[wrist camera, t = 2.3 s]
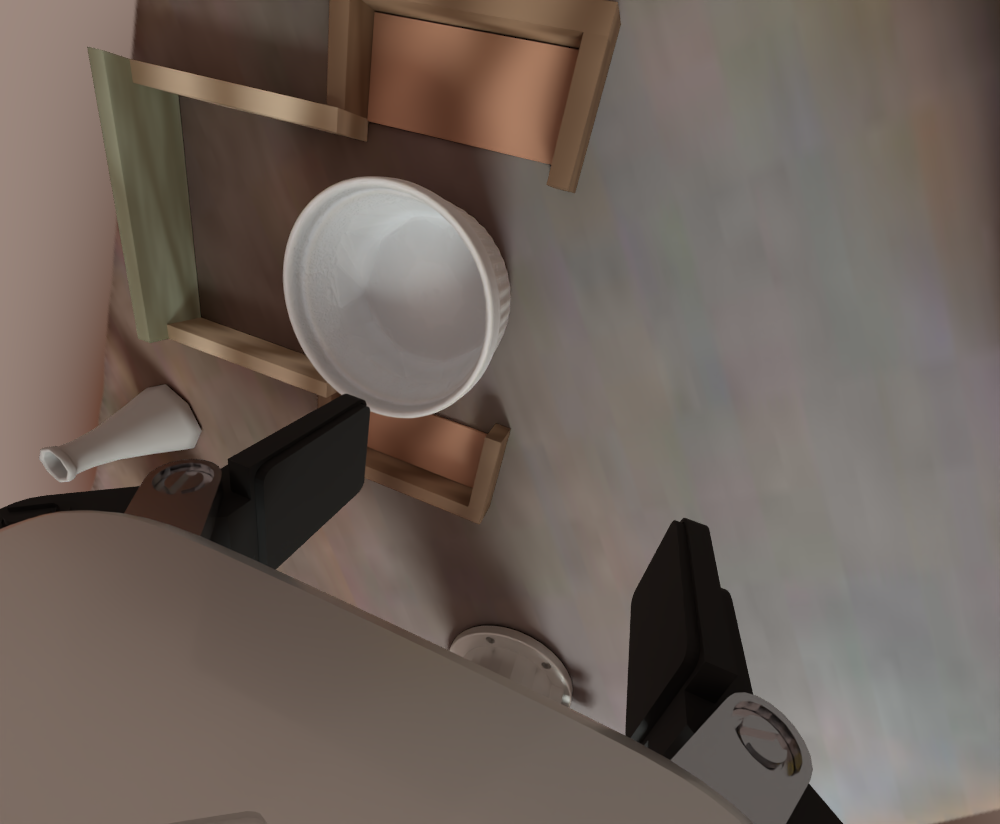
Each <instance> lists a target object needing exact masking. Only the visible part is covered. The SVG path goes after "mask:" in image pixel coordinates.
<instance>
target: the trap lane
mask: <svg viewBox="0 0 1000 824" xmlns="http://www.w3.org/2000/svg"><path fill="white" fill-rule="evenodd" d="M376 11H378V12H383V13H388V14H394V15H399V16H405V17H410V18H416V19H421V20H427V21H432V22H437V23H443V24H448V25H454V26H459V27H465V28H470V29H475V30H481V31H486V32H492V33H497V34H503V35H508V36H513V37H519V38H524V39H530V40H535V41H541V42H546V43H551V44H557V45H562V46H568V47H573V48H579V50H577V49H572V48H566V47H561V46H556V45H550V44H545V43H539V42H534V41H529V40H523V39H518V38H512V37H507V36H501V35H496V34H491V33H485V32H480V31H474V30H469V29H464V28H458V27H453V26H447V25H442V24H437V23H431V22H426V21H420V20H415V19H409V18H404V17H399V16H393V15H388V14H382V13H377V12H376ZM620 26H621V23H620V15H619V7H618V2H612V1H606V0H330V2H329V36H328V70H327V104H326V105H324V104H320V103H315V102H311V101H307V100H303V99H298V98H294V97H290V96H285V95H281V94H277V93H273V92H268V91H264V90H260V89H256V88H251V87H247V86H243V85H238V84H234V83H230V82H226V81H221V80H217V79H213V78H209V77H204V76H200V75H196V74H191V73H187V72H183V71H179V70H174V69H170V68H166V67H162V66H157V65H153V64H149V63H145V62H140V61H136V60H132V59H128V58H125V57H122V56H118V55H116V54H112V53H109V52H106V51H103V50H99V49H95V48H90V47H87V48H88V54H89V60H90V65H91V71H92V77H93V83H94V88H95V94H96V100H97V106H98V111H99V117H100V122H101V128H102V133H103V140H104V145H105V151H106V157H107V163H108V168H109V174H110V180H111V185H112V191H113V197H114V203H115V209H116V214H117V220H118V226H119V231H120V237H121V243H122V249H123V254H124V260H125V266H126V271H127V277H128V283H129V289H130V294H131V300H132V306H133V311H134V317H135V323H136V329H137V334H138V339H141V340H144V341H146V342H149V343H152V342H157V341H161V340H165V339H171V340H174V341H177V342H179V343H182V344H185V345H187V346H190V347H192V348H195V349H198V350H200V351H203V352H206V353H208V354H211V355H214V356H216V357H219V358H222V359H224V360H227V361H230V362H232V363H235V364H238V365H240V366H243V367H246V368H248V369H251V370H254V371H256V372H259V373H262V374H264V375H267V376H270V377H272V378H275V379H278V380H280V381H283V382H286V383H288V384H291V385H293V386H296V387H299V388H301V389H304V390H307V391H309V392H312V393H315V394H317V395H318V408H320V407H321V406H323V405H325V404H327V403H329V402H330V401H332V400H334V399H336V398H337V397H339V396H341V394H340V393H338V392H337V391H336V390H335V389H334V388H333V387H332V386H331V385H330V384H329V383H327V381H326V380H325V379H324V378H323V377H322V376H321V375H320V374H319V373H318V371H317V370H316V369H315V367H314V366H313V365H312V363H311V362H310V360H309V359H308V357H307V356H306V355H304V354H301V353H299V352H296V351H293V350H290V349H287V348H285V347H282V346H279V345H276V344H273V343H271V342H268V341H265V340H262V339H260V338H257V337H254V336H251V335H248V334H246V333H243V332H240V331H237V330H234V329H232V328H229V327H226V326H223V325H221V324H218V323H215V322H212V321H209V320H207V319H204V318H201V312H200V303H199V293H198V283H197V273H196V263H195V253H194V244H193V234H192V224H191V214H190V204H189V194H188V185H187V175H186V165H185V155H184V145H183V135H182V126H181V116H180V106H179V96H178V95H180V96H184V97H188V98H192V99H196V100H200V101H204V102H208V103H212V104H216V105H220V106H224V107H228V108H232V109H236V110H240V111H245V112H249V113H253V114H257V115H261V116H265V117H269V118H273V119H277V120H281V121H285V122H289V123H293V124H297V125H301V126H305V127H309V128H313V129H317V130H321V131H325V132H330V133H334V134H338V135H342V136H346V137H350V138H354V139H358V140H362V141H366V142H367V134H368V121H369V122H373V123H377V124H382V125H386V126H390V127H394V128H399V129H403V130H407V131H411V132H415V133H420V134H424V135H428V136H432V137H436V138H441V139H445V140H449V141H453V142H458V143H462V144H466V145H470V146H474V147H479V148H483V149H487V150H491V151H495V152H500V153H504V154H508V155H512V156H517V157H521V158H525V159H529V160H533V161H538V162H542V163H546V164H550V165H551V168H550V173H549V177H548V181H547V185H548V186H551V187H553V188H556V189H560V190H564V191H568V192H572V193H575V191H576V187H577V184H578V180H579V176H580V173H581V169H582V165H583V162H584V158H585V154H586V151H587V147H588V143H589V140H590V136H591V132H592V129H593V125H594V121H595V117H596V114H597V110H598V106H599V103H600V99H601V95H602V92H603V88H604V84H605V81H606V77H607V73H608V70H609V66H610V62H611V59H612V55H613V51H614V48H615V44H616V40H617V37H618V33H619V29H620ZM510 430H511V429H510V428H507V427H505V426H502V425H499V424H495V425H494V426H493V428H492V429H491V430H490V432H489V433H488V434H487V433H484V432H481V431H479V430H476V429H473V428H470V427H468V426H465V425H462V424H459V423H457V422H454V421H451V420H448V419H446V418H443V417H440V416H437V415H435V414H431V415H427V416H423V417H416V418H395V417H389V416H384V415H380V414H377V413H373V412H371V411H370V421H369V432H368V444H367V455H366V466H365V477H364V478H367V479H369V480H372V481H374V482H377V483H379V484H381V485H384V486H386V487H389V488H391V489H394V490H396V491H399V492H401V493H404V494H406V495H408V496H411V497H413V498H416V499H418V500H421V501H423V502H426V503H428V504H431V505H433V506H435V507H438V508H440V509H443V510H445V511H448V512H450V513H453V514H455V515H458V516H460V517H462V518H465V519H467V520H470V521H472V522H475V523H477V524H480V523H481V521H482V519H483V518H484V516H485V514H486V512H487V510H488V509H489V507H490V503H491V500H492V496H493V492H494V489H495V485H496V481H497V478H498V474H499V470H500V467H501V463H502V459H503V456H504V452H505V448H506V445H507V441H508V437H509V434H510Z"/></svg>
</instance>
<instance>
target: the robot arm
mask: <svg viewBox="0 0 1000 824" xmlns="http://www.w3.org/2000/svg"><path fill="white" fill-rule="evenodd" d="M369 421H370V408H369V407H368V406H367V404H366V401H365V400H363V399H360V398H358V397H355V396H352V395H350V394H343V395H341V396H339V397H337V398H336V399H334V400H332V401H330V402H329V403H327V404H325V405H323V406H321V407H320V408H318V409H316V410H314V411H313V412H311V413H309V414H307V415H305V416H304V417H302V418H300V419H298V420H297V421H295V422H293V423H291V424H289V425H288V426H286V427H284V428H282V429H280V430H279V431H277V432H275V433H273V434H272V435H270V436H268V437H266V438H264V439H263V440H261V441H259V442H257V443H256V444H254V445H252V446H250V447H248V448H247V449H245V450H243V451H241V452H240V453H238V454H236V455H234V456H232V457H231V458H229V459H228V465H226V466H225V467H223V468H221V469H220V468H219V466H217V465H216V464H214V463H213V462H210V461H206V460H200V459H186V460H179V461H174V462H170V463H167V464H165V465H162V466H159V467H158V468H156V469H154V470H153V471H151V472H150V473H149V474H148V475H147V476H146V477H145V478H144V480H143V482H142V483H141V485H140V486H137V487H127V488H117V489H106V490H96V491H86V492H76V493H66V494H56V495H46V496H40V497H34V498H29V499H26V500H22V501H19V502H15V503H13V504H11V505H8V506H6V507H4V508H1V509H0V824H843V823H842V822H841V821H840V820H839V818H838V817H837V816H836V815H835V814H834V812H833V811H832V810H831V809H830V808H829V807H828V805H827V804H826V803H825V802H824V801H823V800H822V798H821V797H820V796H819V795H818V794H817V793H816V791H815V790H814V789H813V788H812V787H811V785H810V784H809V782H810V779H811V775H812V771H813V768H812V762H811V756H810V753H809V751H808V749H807V746H806V744H805V742H804V740H803V738H802V737H801V735H800V734H799V732H798V731H797V729H796V728H795V726H794V725H793V724H792V723H791V722H790V721H789V720H788V719H787V718H786V716H785V715H784V714H783V713H782V712H780V711H779V710H778V709H777V708H775V707H774V706H773V705H772V704H771V703H769V702H767V701H765V700H764V699H762V698H760V697H758V696H756V695H753V692H752V687H751V683H750V678H749V674H748V669H747V665H746V660H745V656H744V651H743V647H742V642H741V638H740V633H739V629H738V624H737V620H736V615H735V611H734V606H733V602H732V598H731V595H730V593H729V592H728V591H727V590H725V589H723V588H721V587H720V582H719V577H718V572H717V567H716V562H715V557H714V551H713V546H712V541H711V536H710V531H709V528H708V527H707V526H706V525H703V524H700V523H698V522H695V521H692V520H689V519H687V518H683V519H682V520H681V521H680V522H678V521H676V520H674V521H673V522H672V523H671V525H670V527H669V528H668V530H667V532H666V534H665V536H664V538H663V540H662V542H661V543H660V545H659V547H658V549H657V551H656V553H655V555H654V556H653V558H652V560H651V562H650V564H649V566H648V568H647V570H646V571H645V573H644V575H643V577H642V579H641V581H640V583H639V584H638V586H637V588H636V590H635V592H634V595H633V598H632V603H631V619H630V641H629V664H628V686H627V709H626V736H625V735H623V734H621V733H619V732H617V731H615V730H613V729H611V728H609V727H607V726H605V725H603V724H601V723H599V722H596V721H594V720H592V719H590V718H588V717H586V716H584V715H582V714H580V713H578V712H576V711H574V710H572V709H570V705H571V700H572V691H573V688H572V682H571V679H570V676H569V674H568V672H567V670H566V668H565V667H564V665H563V664H562V662H561V661H560V660H559V659H558V658H557V657H556V656H555V655H554V654H553V653H552V651H550V650H549V649H548V648H547V647H545V646H544V645H543V644H542V643H540V642H538V641H537V640H535V639H533V638H532V637H530V636H528V635H525V634H523V633H521V632H519V631H516V630H512V629H509V628H505V627H499V626H478V627H473V628H470V629H468V630H465V631H463V632H462V633H461V634H459V635H458V636H457V637H456V638H455V640H454V641H453V643H452V645H451V647H450V650H447V649H444V648H442V647H440V646H438V645H436V644H434V643H432V642H430V641H427V640H425V639H423V638H421V637H419V636H417V635H415V634H413V633H410V632H408V631H406V630H404V629H402V628H400V627H398V626H396V625H393V624H391V623H389V622H387V621H385V620H383V619H381V618H378V617H376V616H374V615H372V614H370V613H368V612H366V611H363V610H361V609H359V608H357V607H355V606H353V605H351V604H348V603H346V602H344V601H342V600H340V599H338V598H336V597H333V596H331V595H329V594H327V593H325V592H323V591H320V590H318V589H316V588H314V587H312V586H310V585H307V584H305V583H303V582H301V581H299V580H297V579H294V578H292V577H290V576H288V575H286V574H284V573H281V572H279V571H277V570H275V569H277V568H278V567H279V566H280V565H281V564H282V563H283V562H284V561H285V560H286V559H288V558H289V557H290V556H291V555H292V554H293V553H294V552H295V551H296V550H297V549H298V548H299V547H300V546H302V545H303V544H304V543H305V542H306V541H307V540H308V539H309V538H310V537H311V536H312V535H313V534H314V533H316V532H317V531H318V530H319V529H320V528H321V527H322V526H323V525H324V524H325V523H326V522H327V521H328V520H329V519H331V518H332V517H333V516H334V515H335V514H336V513H337V512H338V511H339V510H340V509H341V508H342V507H343V506H345V505H346V504H347V503H348V502H349V501H350V500H351V499H352V498H353V497H354V496H355V495H356V494H357V493H358V492H359V491H360V490H361V488H362V486H363V483H364V477H365V466H366V455H367V444H368V432H369Z"/></svg>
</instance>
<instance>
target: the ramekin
mask: <svg viewBox="0 0 1000 824" xmlns="http://www.w3.org/2000/svg"><path fill="white" fill-rule="evenodd" d="M283 288H284V295H285V302H286V307H287V311H288V314H289V318H290V322H291V324H292V327H293V330H294V332H295V335H296V337H297V339H298V341H299V343H300V345H301V347H302V349H303V351H304V353H305V354H306V356H307V357H308V359H309V360H310V362H311V363H312V365H313V366H314V367H315V369H316V370H317V371H318V373H319V374H320V375H321V376H322V377H323V378H324V379H325V380H326V381H327V383H329V384H330V385H331V386H332V387H333V388H334V389H335V390H336V391H337V392H338V393H340V394H341V395H343V394H350V395H352V396H355V397H358V398H360V399H363V400H365V401H366V404H367V406H368V407H369V408H370V411H371V412H373V413H377V414H380V415H384V416H389V417H395V418H416V417H423V416H427V415H431V414H434V413H436V412H439V411H441V410H443V409H445V408H447V407H449V406H450V405H452V404H453V403H455V402H456V401H457V400H459V399H460V398H461V397H463V396H464V395H465V394H466V393H467V392H469V391H470V390H471V389H472V387H473V386H474V385H475V384H476V383H477V382H478V381H479V379H480V378H481V376H482V375H483V373H484V372H485V370H486V369H487V367H488V365H489V363H490V361H491V358H492V356H493V353H494V352H495V350H496V348H497V347H498V345H499V343H500V340H501V338H502V337H503V335H504V332H505V327H506V326H507V323H508V315H509V313H510V301H511V295H510V283H509V279H508V272H507V270H506V267H505V262H504V260H503V258H502V256H501V254H500V251H499V249H498V247H497V246H496V245H495V243H494V241H493V239H492V237H491V236H490V235H489V234H488V233H487V231H486V229H485V228H484V227H483V226H481V225H480V224H479V223H478V222H477V220H476V219H475V218H474V217H472V216H470V215H468V214H467V212H466V211H464V210H463V209H461V208H459V207H457V206H455V205H454V204H452V203H451V202H448V201H446V200H444V199H443V198H441V197H440V196H438V195H437V194H435V193H434V192H432V191H430V190H428V189H426V188H424V187H422V186H420V185H418V184H415V183H412V182H409V181H406V180H402V179H398V178H390V177H379V176H364V177H356V178H351V179H347V180H343V181H341V182H338V183H336V184H334V185H332V186H330V187H328V188H326V189H325V190H323V191H322V192H320V193H319V194H318V195H317V196H315V197H314V198H313V199H312V200H311V201H310V202H309V203H308V204H307V206H306V207H305V208H304V209H303V211H302V212H301V213H300V215H299V216H298V218H297V220H296V222H295V224H294V226H293V228H292V230H291V232H290V235H289V239H288V241H287V246H286V250H285V255H284V263H283Z"/></svg>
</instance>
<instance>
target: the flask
mask: <svg viewBox="0 0 1000 824" xmlns="http://www.w3.org/2000/svg"><path fill="white" fill-rule="evenodd" d="M200 433H201V429H200V427H199V425H198V423H197V421H196V419H195V417H194V415H193V413H192V411H191V409H190V407H189V405H188V404H187V403H186V402H185V401H184V400H183V399H182V398H181V397H179V396H178V395H177V394H176V393H175V392H174V391H173V390H171V389H170V388H169V387H168V386H167V385H166V384H164V385H159V386H154V387H149V388H146V389H145V390H144V391H142V392H141V393H140V394H138V395H137V396H136V397H135V398H133V399H132V400H131V401H130V402H129V403H127V404H126V405H125V406H124V407H122V408H121V409H120V410H119V411H117V412H116V413H115V414H113V415H112V416H111V417H109V418H108V419H107V420H105V421H104V422H103V423H102V424H100V425H99V426H98V427H96V428H95V429H94V430H92V431H90V432H88V433H86V434H85V435H83V436H81V437H79V438H77V439H75V440H74V441H71V442H69V443H66V444H64V445H61V446H53V447H46V448H43V449H41V450H40V455H39V459H40V461H41V462H42V464H43V465H44V467H45V468H46V470H47V471H48V473H50V474H51V475H52V476H53V477H54V478H55V479H57V480H58V481H59V482H68V481H71V480H73V479H74V478H75V476H76V474H78V473H80V472H82V471H85V470H87V469H90V468H92V467H94V466H98V465H101V464H105V463H109V462H112V461H116V460H119V459H125V458H131V457H137V456H143V455H149V454H156V453H163V452H170V451H178V450H185V449H191V448H194V447H195V445H196V443H197V440H198V438H199V436H200Z"/></svg>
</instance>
